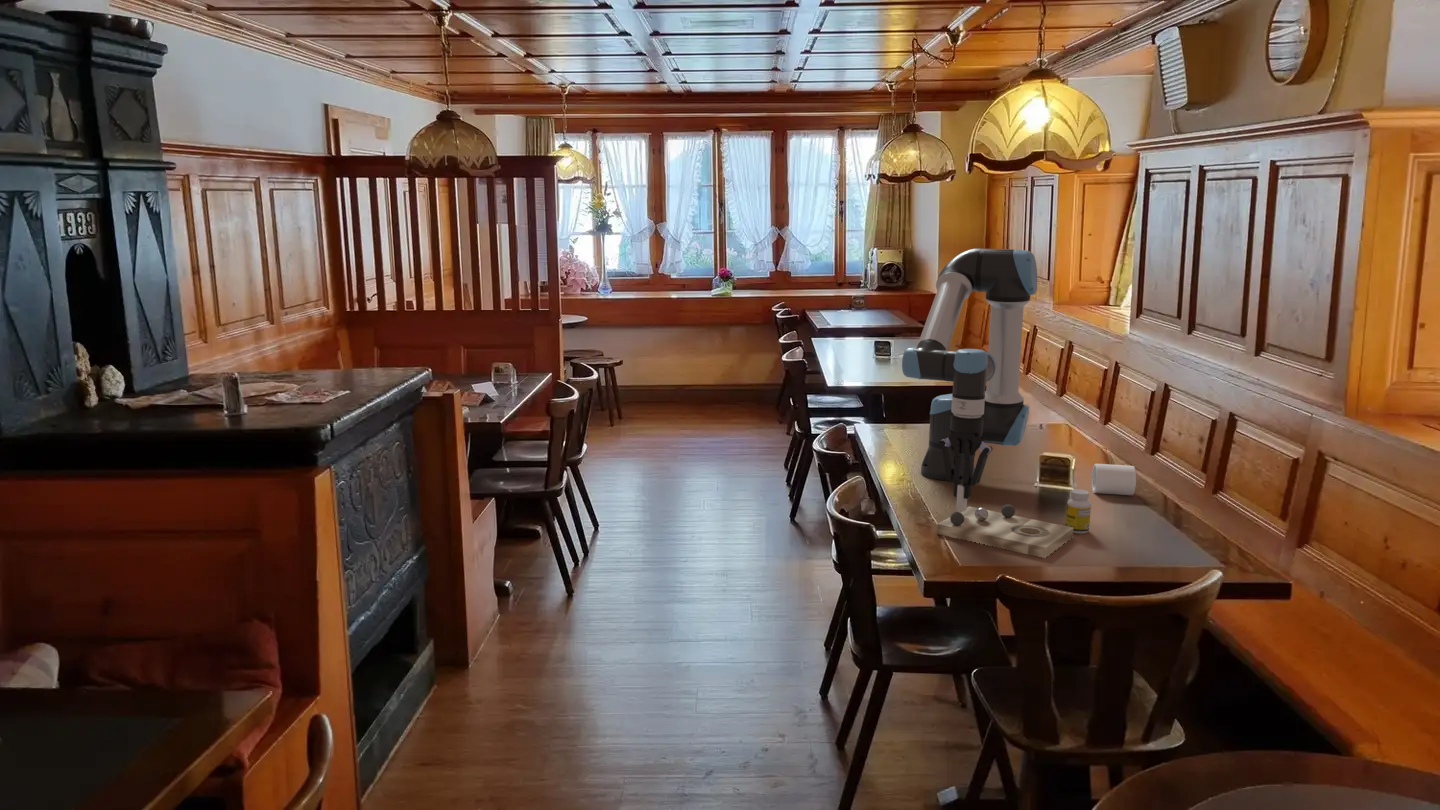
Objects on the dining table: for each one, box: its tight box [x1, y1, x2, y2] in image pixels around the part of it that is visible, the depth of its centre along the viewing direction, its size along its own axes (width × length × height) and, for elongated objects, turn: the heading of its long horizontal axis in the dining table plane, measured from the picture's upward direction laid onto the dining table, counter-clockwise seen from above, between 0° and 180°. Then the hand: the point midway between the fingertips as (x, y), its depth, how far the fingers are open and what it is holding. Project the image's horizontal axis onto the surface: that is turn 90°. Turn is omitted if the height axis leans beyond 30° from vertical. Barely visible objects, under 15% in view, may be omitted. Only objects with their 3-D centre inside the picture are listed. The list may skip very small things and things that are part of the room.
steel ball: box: [975, 507, 988, 521], centre depth 241 cm, size 3×3×3 cm
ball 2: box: [1000, 504, 1016, 518], centre depth 243 cm, size 3×3×3 cm
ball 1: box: [949, 511, 964, 526], centre depth 237 cm, size 3×3×3 cm
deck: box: [936, 505, 1074, 559], centre depth 238 cm, size 26×18×2 cm
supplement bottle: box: [1064, 488, 1092, 535], centre depth 242 cm, size 5×5×10 cm
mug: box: [1091, 463, 1137, 496], centre depth 275 cm, size 12×10×8 cm
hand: (961, 510), depth 244 cm, fingers closed
